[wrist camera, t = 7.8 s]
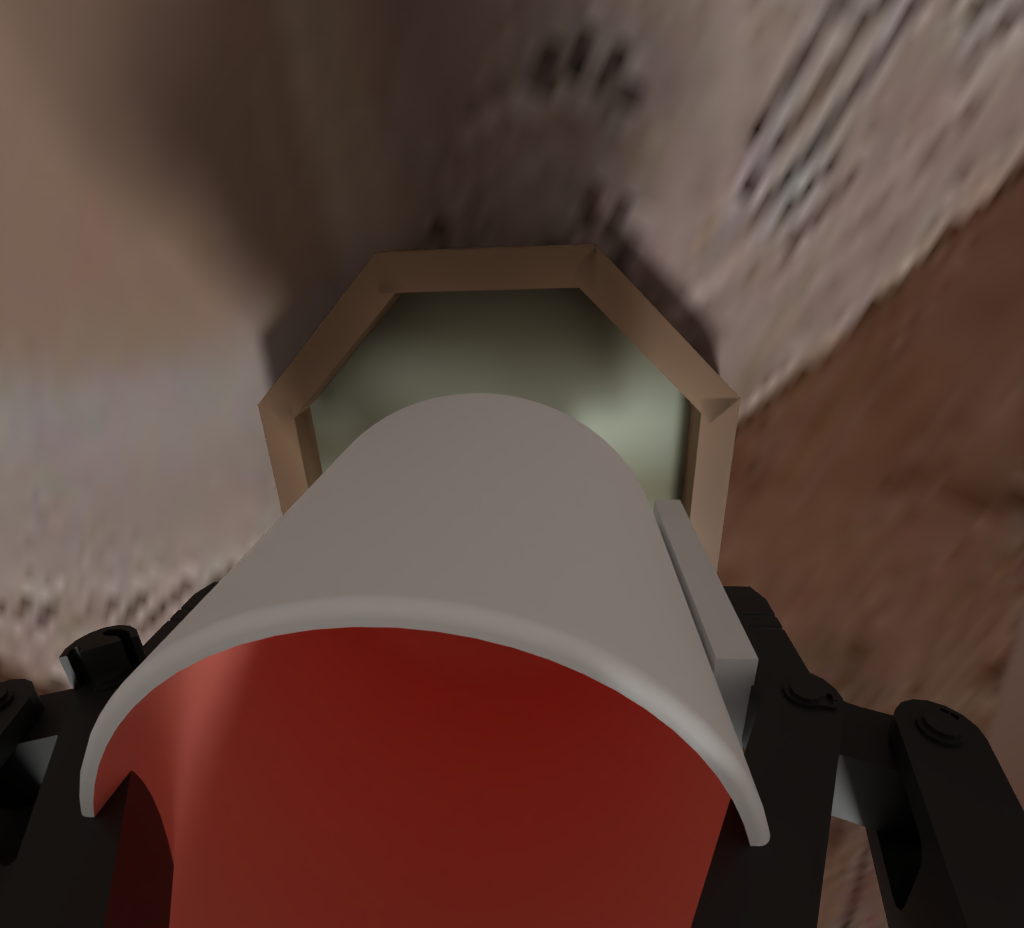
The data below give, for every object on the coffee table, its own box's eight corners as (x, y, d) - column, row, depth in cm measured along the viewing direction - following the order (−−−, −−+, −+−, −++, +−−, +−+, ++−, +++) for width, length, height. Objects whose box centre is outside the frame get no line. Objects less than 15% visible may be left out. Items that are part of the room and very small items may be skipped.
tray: (259, 255, 19) (225, 257, 17) (737, 238, 18) (761, 239, 16) (334, 628, 25) (315, 662, 23) (690, 634, 24) (703, 670, 22)
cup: (385, 323, 15) (109, 468, 5) (712, 462, 16) (946, 786, 6) (299, 598, 18) (51, 958, 9) (566, 697, 19) (581, 1112, 10)
